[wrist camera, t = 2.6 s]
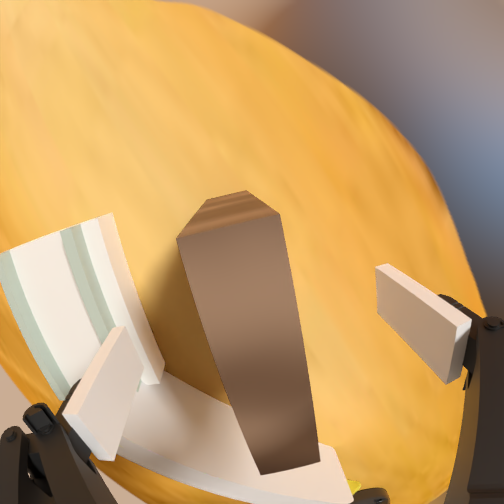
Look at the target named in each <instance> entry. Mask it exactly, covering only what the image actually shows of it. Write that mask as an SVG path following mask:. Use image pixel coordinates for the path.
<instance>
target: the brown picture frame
mask: <svg viewBox="0 0 504 504" xmlns="http://www.w3.org/2000/svg"><path fill="white" fill-rule="evenodd" d="M176 240H177V244H178V247H179V251H180V254H181V258H182V261H183V265H184V268H185V272H186V275H187V278H188V282H189V285H190V288H191V291H192V295H193V298H194V301H195V304H196V307H197V310H198V313H199V317H200V320H201V323H202V326H203V329H204V332H205V335H206V338H207V341H208V343H209V346H210V349H211V352H212V355H213V358H214V361H215V363H216V366H217V369H218V372H219V374H220V377H221V380H222V383H223V385H224V388H225V391H226V393H227V396H228V398H229V401H230V404H231V406H232V409H233V411H234V414H235V416H236V419H237V421H238V424H239V426H240V429H241V431H242V433H243V436H244V438H245V441H246V443H247V445H248V448H249V450H250V452H251V455H252V457H253V459H254V462H255V464H256V466H257V468H258V471H259V473H260V475H267V474H272V473H277V472H282V471H286V470H291V469H295V468H299V467H303V466H307V465H311V464H314V463H318V462H321V460H320V452H319V445H318V437H317V429H316V422H315V415H314V408H313V401H312V394H311V387H310V381H309V374H308V368H307V361H306V355H305V349H304V343H303V337H302V331H301V325H300V319H299V313H298V308H297V302H296V296H295V291H294V285H293V280H292V274H291V269H290V264H289V258H288V253H287V248H286V243H285V238H284V233H283V228H282V223H281V218H280V214H279V213H278V212H276V211H275V210H273V209H272V208H271V207H269V206H268V205H266V204H265V203H264V202H262V201H261V200H259V199H258V198H257V197H255V196H254V195H252V194H251V193H249V192H248V191H242V192H237V193H233V194H229V195H224V196H220V197H216V198H212V199H208V200H206V201H205V203H204V204H203V205H202V206H201V208H200V209H199V210H198V211H197V213H196V214H195V215H194V216H193V218H192V219H191V220H190V221H189V223H188V224H187V225H186V226H185V228H184V229H183V230H182V232H181V233H180V234H179V235H178V237H177V238H176Z"/></svg>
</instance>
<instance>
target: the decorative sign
mask: <svg viewBox="0 0 504 504" xmlns="http://www.w3.org/2000/svg"><path fill="white" fill-rule="evenodd" d="M318 445H319V452H320V460H321V462H318V463H314V464H311V465H307V466H303V467H299V468H295V469H291V470H286V471H282V472H277V473H272V474H267V475H260V473H259V471H258V468H257V466H256V464H255V462H254V459H253V457H252V455H251V452H250V450H249V448H248V445H247V443H246V441H245V438H244V436H243V433H242V431H241V429H240V426H239V424H238V421H237V419H236V416H235V414H234V411H233V409H232V407H231V406H229V405H227V404H225V403H223V402H221V401H219V400H217V399H215V398H213V397H211V396H209V395H207V394H205V393H203V392H201V391H199V390H198V389H196V388H194V387H192V386H190V385H188V384H187V383H185V382H183V381H181V380H179V379H178V378H176V377H174V376H173V375H171V374H169V373H167V372H166V371H164V370H163V374H162V378H161V381H160V384H152V385H147V384H145V383H144V382H142V383H141V386H140V388H139V391H138V392H136V393H135V396H134V399H133V402H132V405H131V408H130V411H129V414H128V417H127V420H126V424H125V427H124V430H123V433H122V436H121V440H120V443H119V446H118V450H117V453H116V454H118V455H120V456H122V457H124V458H126V459H128V460H130V461H132V462H134V463H136V464H138V465H140V466H142V467H145V468H147V469H149V470H151V471H154V472H156V473H158V474H161V475H163V476H166V477H168V478H171V479H173V480H176V481H179V482H181V483H184V484H187V485H190V486H193V487H196V488H199V489H202V490H205V491H208V492H211V493H214V494H218V495H221V496H225V497H229V498H232V499H236V500H240V501H244V502H249V503H253V504H350V503H351V502H353V501H354V498H353V496H352V495H353V494H354V493H356V492H357V491H358V490H359V489H360V488H361V484H360V482H359V481H352V480H348V479H346V478H345V475H344V472H343V470H342V467H341V465H340V462H339V460H338V457H337V454H336V452H335V450H334V449H333V448H332V447H330V446H327V445H324V444H321V443H318Z"/></svg>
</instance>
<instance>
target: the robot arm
mask: <svg viewBox="0 0 504 504" xmlns="http://www.w3.org/2000/svg"><path fill="white" fill-rule="evenodd" d="M375 272H376V289H377V313H378V314H379V315H380V316H381V317H382V318H383V319H384V320H385V321H386V322H387V323H388V324H389V325H390V326H391V327H392V328H393V329H394V330H395V331H396V332H397V333H398V335H399V336H400V337H401V338H402V339H403V340H404V341H405V342H406V343H407V344H408V345H409V346H410V347H411V348H412V349H413V350H414V351H415V352H416V353H417V354H418V355H419V356H420V357H421V358H422V360H423V361H424V362H425V363H426V364H427V365H428V366H429V367H430V368H431V369H432V370H433V371H434V372H435V373H436V374H437V376H438V377H439V378H440V379H441V380H442V381H443V382H444V383H445V384H448V383H450V382H452V381H454V380H455V379H457V378H459V377H460V375H461V371H462V367H463V366H464V367H465V368H466V369H467V370H468V373H467V377H466V380H465V384H464V387H463V390H465V389H466V390H465V401H464V411H463V419H462V426H461V432H460V438H459V444H458V449H457V455H456V459H455V464H454V468H453V472H452V477H451V480H450V484H449V488H448V491H447V495H446V498H445V502H444V504H504V320H502V319H501V318H498V317H493V316H491V317H485V318H483V319H482V318H481V317H480V316H478V315H477V314H475V313H474V312H472V311H471V310H469V309H468V308H466V307H464V306H463V305H462V304H460V303H458V302H457V301H456V300H454V299H453V298H451V297H449V296H446V295H442V294H439V295H436V294H434V293H433V292H431V291H430V290H428V289H427V288H425V287H424V286H422V285H421V284H419V283H418V282H416V281H415V280H413V279H411V278H410V277H408V276H407V275H405V274H404V273H402V272H401V271H399V270H397V269H396V268H394V267H393V266H391V265H389V264H388V263H387V264H384V265H380V266H377V267H375ZM143 370H144V366H143V364H142V362H141V360H140V358H139V355H138V353H137V351H136V349H135V347H134V345H133V342H132V340H131V338H130V336H129V333H128V331H127V329H126V327H125V326H119V327H114V328H112V330H111V331H110V333H109V334H108V336H107V338H106V339H105V341H104V342H103V344H102V346H101V347H100V349H99V350H98V352H97V354H96V355H95V357H94V359H93V360H92V362H91V364H90V365H89V367H88V369H87V370H86V372H85V374H84V375H83V377H82V379H79V380H78V381H77V382H76V383H75V384H74V385H73V386H72V388H71V389H70V391H69V393H68V394H67V396H66V398H65V400H64V401H63V403H62V405H61V407H60V408H59V410H58V412H57V414H56V416H54V414H53V413H52V412H51V410H50V409H49V407H48V406H47V405H46V404H45V403H37V404H34V405H32V406H31V407H29V408H28V409H27V410H26V411H25V413H24V415H23V421H24V422H25V423H26V425H27V426H28V427H29V428H30V430H31V431H32V432H33V433H31V434H25V433H24V432H23V431H22V430H21V428H20V427H17V426H12V427H10V428H8V429H7V430H5V431H4V433H3V434H2V436H1V439H0V504H118V503H117V502H116V500H115V499H114V497H113V496H112V494H111V492H110V491H109V489H108V487H107V486H106V484H105V482H104V481H103V479H102V477H101V476H100V474H99V472H98V470H97V469H96V467H95V465H94V463H93V462H92V461H91V460H90V459H89V457H90V454H91V452H92V453H93V454H94V455H95V456H96V457H97V458H98V460H105V461H114V460H115V457H116V453H117V450H118V446H119V443H120V440H121V436H122V433H123V430H124V427H125V424H126V420H127V417H128V414H129V411H130V408H131V405H132V402H133V399H134V396H135V393H136V390H137V387H138V384H139V381H140V378H141V376H142V373H143ZM28 473H29V474H30V477H29V475H28ZM352 496H353V498H354V501H353V502H351V503H350V504H390V498H389V496H388V494H387V491H386V490H385V489H383V488H372V489H367V490H362V491H359V492H356V493H354V494H353V495H352Z"/></svg>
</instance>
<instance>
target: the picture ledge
mask: <svg viewBox="0 0 504 504" xmlns="http://www.w3.org/2000/svg"><path fill="white" fill-rule="evenodd" d="M0 282H1V285H2V287H3V290H4V293H5V295H6V298H7V300H8V303H9V305H10V308H11V310H12V313H13V315H14V317H15V320H16V322H17V324H18V326H19V328H20V331H21V333H22V335H23V337H24V339H25V341H26V343H27V345H28V347H29V349H30V351H31V353H32V355H33V356H34V358H35V360H36V362H37V364H38V366H39V367H40V369H41V371H42V373H43V374H44V376H45V378H46V380H47V381H48V383H49V384H50V386H51V388H52V389H53V391H54V393H55V394H56V396H57V397H58V399H59V400H65V398H66V396H67V394H68V393H69V391H70V389H71V388H72V386H73V385H74V384H75V383H76V382H77V381H78V380H79V379H82V377H83V375H84V374H85V372H86V370H87V369H88V367H89V365H90V364H91V362H92V360H93V359H94V357H95V355H96V354H97V352H98V350H99V349H100V347H101V346H102V344H103V342H104V341H105V339H106V338H107V336H108V334H109V333H110V331H111V330H112V328H114V327H119V326H125V327H126V329H127V331H128V333H129V336H130V338H131V340H132V342H133V345H134V347H135V349H136V351H137V353H138V355H139V358H140V360H141V362H142V364H143V366H144V370H143V373H142V376H141V378H140V381H139V384H138V387H137V390H136V392H138V391H139V388H140V386H141V383H142V382H144V383H145V384H147V385H152V384H160V381H161V378H162V374H163V370H164V367H165V361H164V359H163V357H162V354H161V352H160V350H159V347H158V345H157V343H156V340H155V338H154V335H153V333H152V330H151V328H150V325H149V323H148V320H147V318H146V315H145V312H144V310H143V307H142V304H141V302H140V299H139V296H138V293H137V290H136V288H135V285H134V282H133V279H132V276H131V273H130V270H129V267H128V264H127V261H126V258H125V254H124V251H123V248H122V245H121V241H120V238H119V234H118V231H117V227H116V224H115V220H114V216H113V213H109V214H106V215H103V216H100V217H97V218H94V219H91V220H88V221H85V222H82V223H79V224H76V225H73V226H70V227H67V228H64V229H62V230H59V231H56V232H53V233H51V234H48V235H45V236H43V237H40V238H37V239H35V240H32V241H30V242H27V243H24V244H22V245H19V246H17V247H14V248H12V249H10V250H7V251H5V252H3V253H1V254H0Z"/></svg>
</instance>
